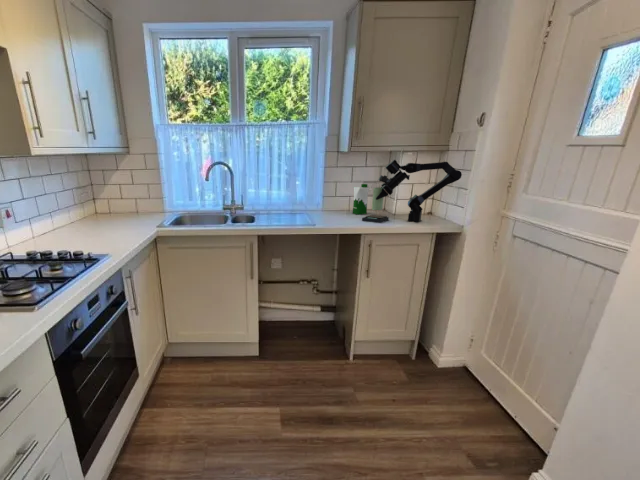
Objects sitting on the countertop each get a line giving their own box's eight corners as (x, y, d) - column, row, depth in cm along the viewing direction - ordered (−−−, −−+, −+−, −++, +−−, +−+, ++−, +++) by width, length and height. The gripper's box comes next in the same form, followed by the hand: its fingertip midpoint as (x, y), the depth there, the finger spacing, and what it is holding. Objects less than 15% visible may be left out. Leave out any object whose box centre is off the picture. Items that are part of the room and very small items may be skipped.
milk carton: (368, 214, 252) (371, 184, 245) (357, 215, 249) (359, 185, 242) (361, 212, 260) (363, 183, 253) (350, 213, 257) (352, 184, 250)
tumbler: (380, 208, 230) (382, 187, 225) (383, 209, 224) (386, 188, 219) (370, 208, 229) (372, 187, 225) (373, 210, 223) (375, 188, 219)
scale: (388, 220, 228) (388, 216, 227) (380, 222, 220) (380, 218, 219) (370, 218, 236) (371, 214, 235) (361, 220, 228) (362, 216, 227)
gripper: (386, 169, 226) (366, 187, 232) (388, 171, 209) (367, 190, 215) (398, 182, 227) (378, 200, 233) (401, 185, 210) (380, 204, 216)
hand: (375, 198), depth 225 cm, fingers closed on tumbler, 6 cm apart
